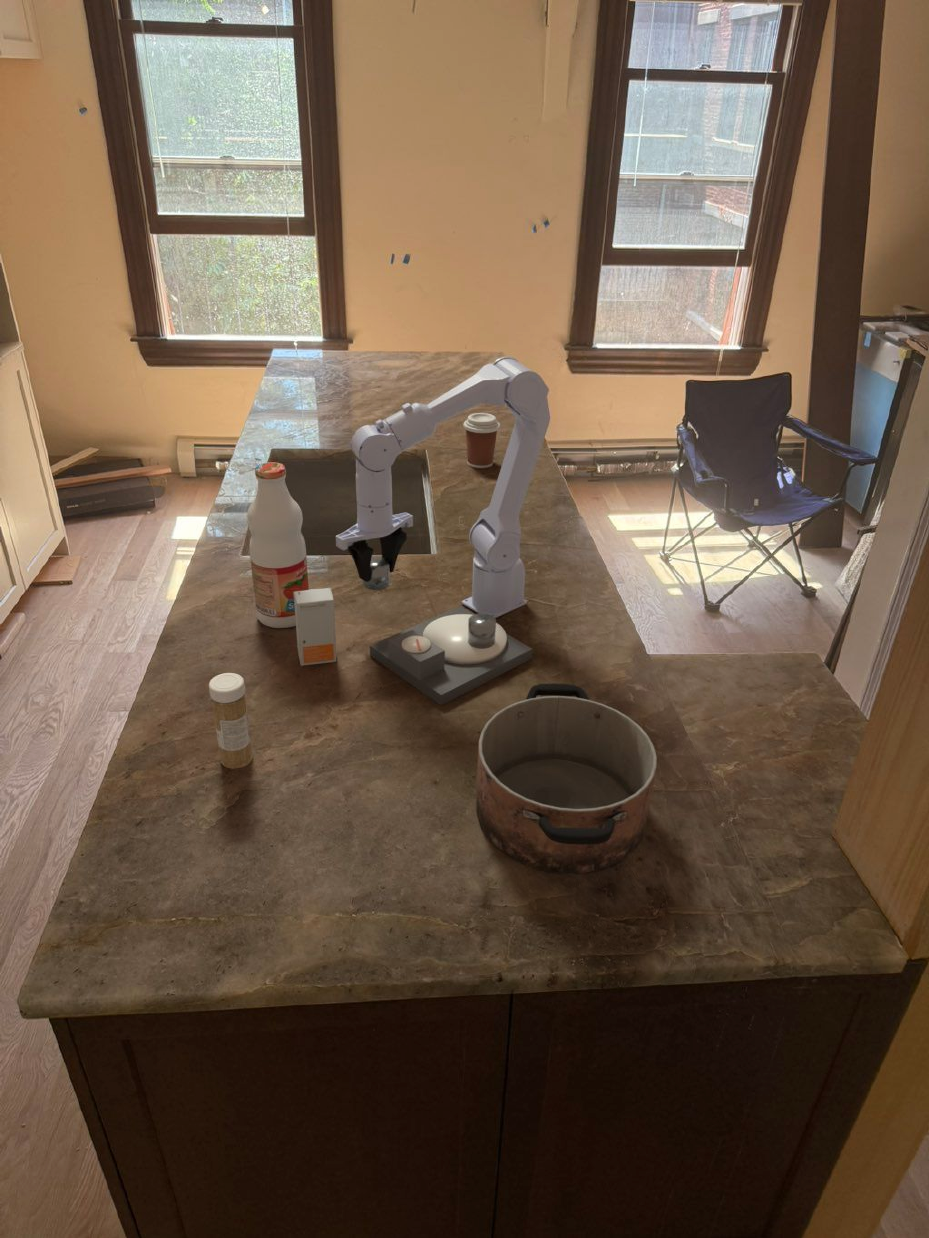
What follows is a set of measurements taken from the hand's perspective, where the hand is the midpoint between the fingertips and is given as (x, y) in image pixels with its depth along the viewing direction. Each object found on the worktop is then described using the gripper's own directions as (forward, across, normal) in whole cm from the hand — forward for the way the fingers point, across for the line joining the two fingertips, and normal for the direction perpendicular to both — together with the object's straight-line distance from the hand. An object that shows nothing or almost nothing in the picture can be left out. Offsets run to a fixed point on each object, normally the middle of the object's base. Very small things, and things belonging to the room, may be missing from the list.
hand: (376, 574), depth 149 cm
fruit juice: (+10, +11, -13) cm, 20 cm away
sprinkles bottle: (+10, +37, +16) cm, 42 cm away
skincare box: (+10, +14, +2) cm, 17 cm away
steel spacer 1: (+2, 0, 0) cm, 2 cm away
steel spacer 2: (+7, -7, +19) cm, 21 cm away
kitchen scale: (+10, -3, +16) cm, 19 cm away
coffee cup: (+10, -67, -45) cm, 81 cm away
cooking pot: (+10, +10, +52) cm, 54 cm away
